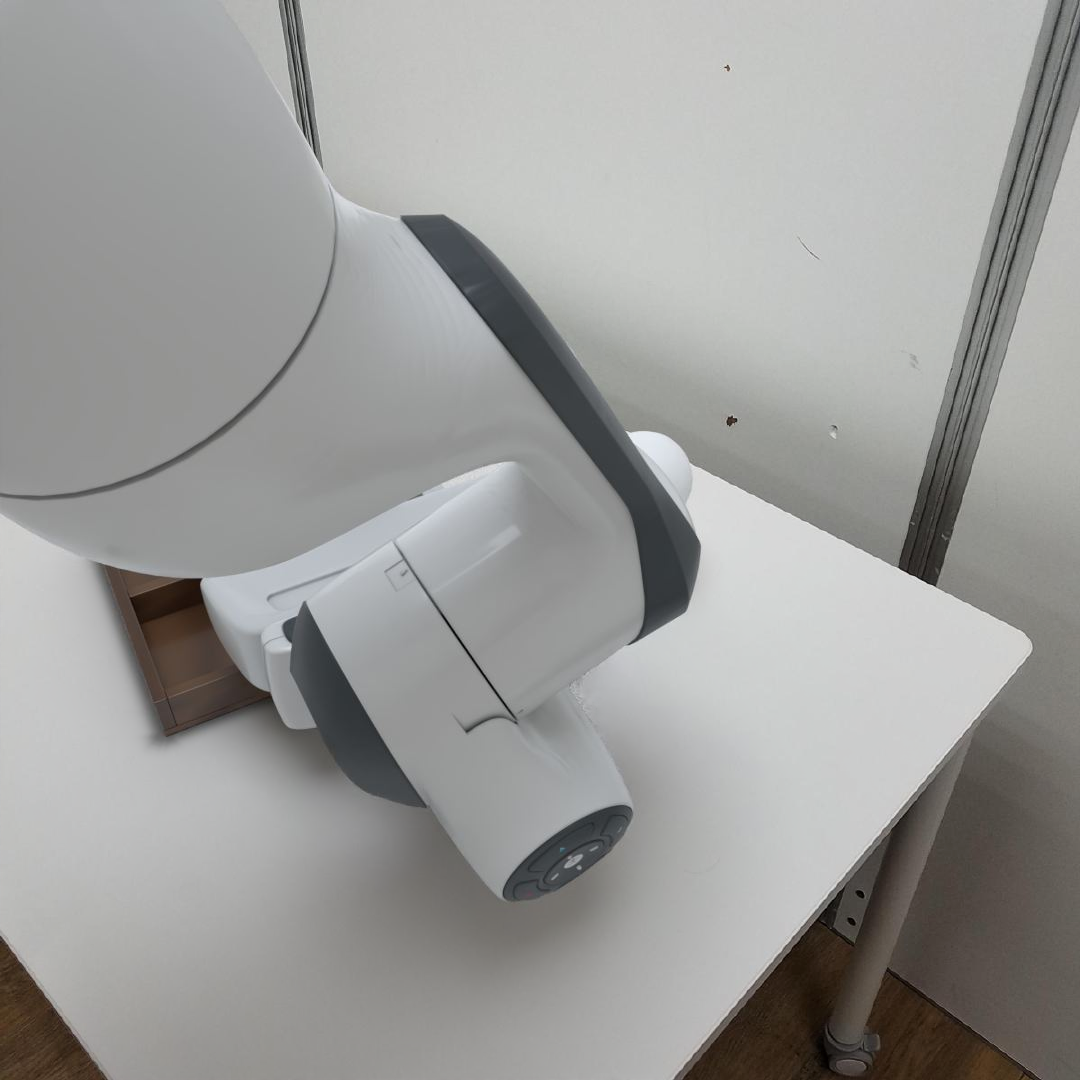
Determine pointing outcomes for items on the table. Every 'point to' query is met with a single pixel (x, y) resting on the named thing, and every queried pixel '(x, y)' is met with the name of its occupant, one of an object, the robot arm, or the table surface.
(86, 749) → the table surface
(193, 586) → the grid
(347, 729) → the robot arm
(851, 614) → the table surface
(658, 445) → the lightbulb
